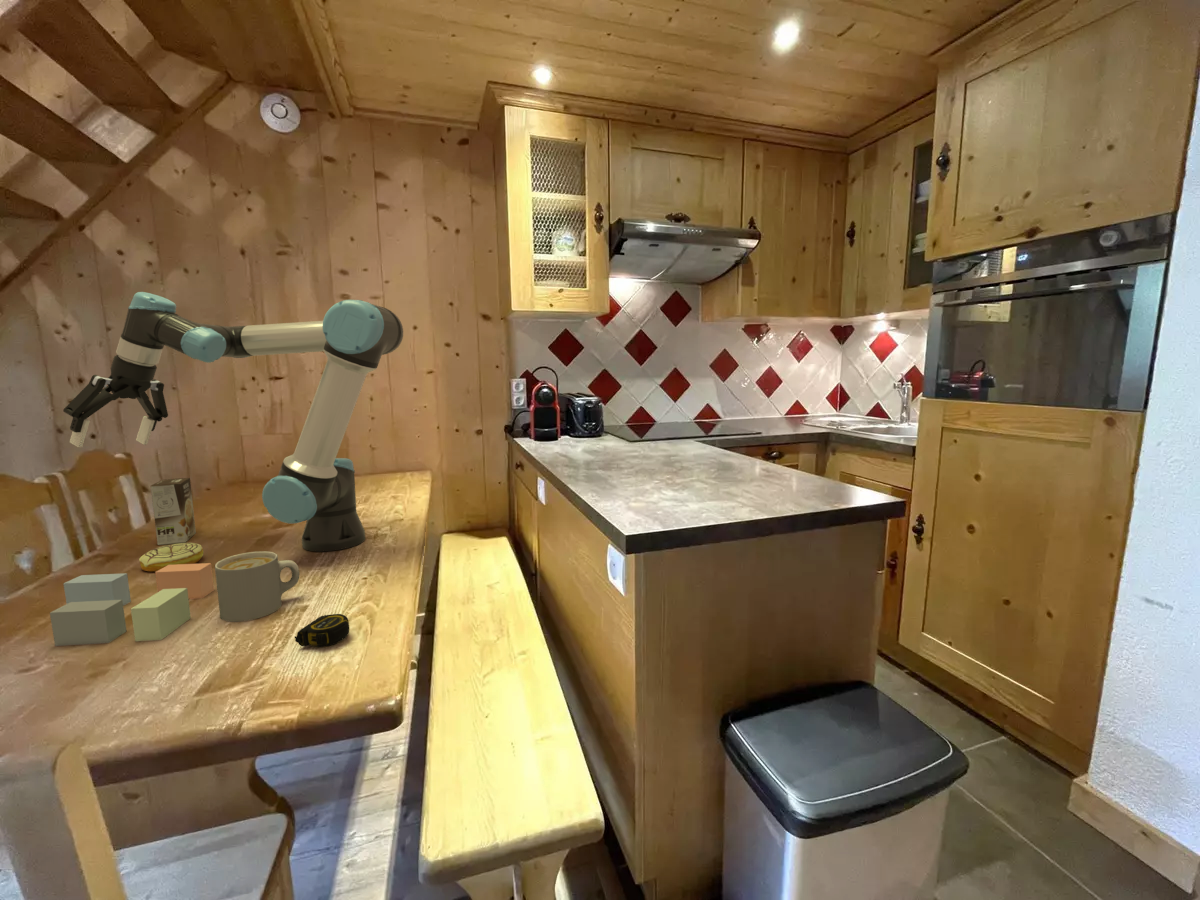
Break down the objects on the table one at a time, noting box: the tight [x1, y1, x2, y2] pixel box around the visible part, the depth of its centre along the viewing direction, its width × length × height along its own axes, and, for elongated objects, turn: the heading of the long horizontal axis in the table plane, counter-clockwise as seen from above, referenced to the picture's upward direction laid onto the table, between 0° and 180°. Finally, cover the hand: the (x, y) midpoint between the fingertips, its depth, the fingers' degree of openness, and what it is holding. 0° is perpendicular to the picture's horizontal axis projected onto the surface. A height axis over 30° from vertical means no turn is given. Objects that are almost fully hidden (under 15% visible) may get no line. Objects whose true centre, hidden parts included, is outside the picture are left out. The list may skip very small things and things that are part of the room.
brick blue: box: [63, 573, 132, 607], centre depth 100 cm, size 8×4×6 cm, turn 98°
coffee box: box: [150, 477, 197, 546], centre depth 140 cm, size 9×6×16 cm
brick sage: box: [130, 588, 192, 642], centre depth 92 cm, size 8×4×6 cm, turn 8°
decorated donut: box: [138, 542, 204, 573], centre depth 123 cm, size 11×12×4 cm
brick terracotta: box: [154, 562, 215, 600], centre depth 106 cm, size 8×4×6 cm, turn 98°
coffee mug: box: [214, 550, 300, 623], centre depth 100 cm, size 13×10×10 cm
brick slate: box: [49, 600, 127, 647], centre depth 88 cm, size 8×4×6 cm, turn 98°
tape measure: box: [294, 613, 350, 648], centre depth 89 cm, size 7×7×4 cm
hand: (110, 443), depth 121 cm, fingers open, 13 cm apart
